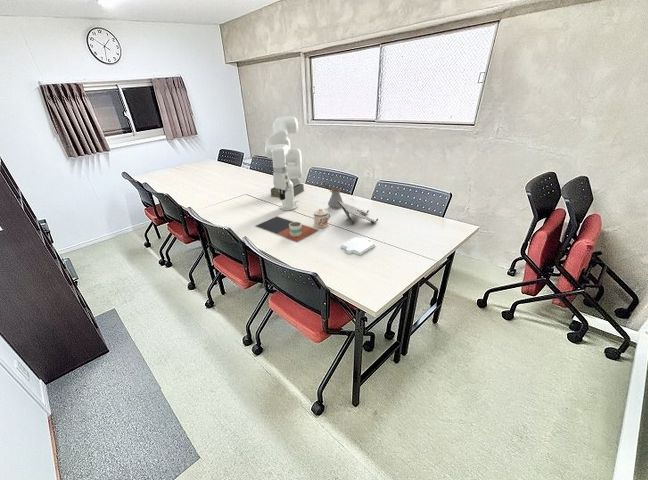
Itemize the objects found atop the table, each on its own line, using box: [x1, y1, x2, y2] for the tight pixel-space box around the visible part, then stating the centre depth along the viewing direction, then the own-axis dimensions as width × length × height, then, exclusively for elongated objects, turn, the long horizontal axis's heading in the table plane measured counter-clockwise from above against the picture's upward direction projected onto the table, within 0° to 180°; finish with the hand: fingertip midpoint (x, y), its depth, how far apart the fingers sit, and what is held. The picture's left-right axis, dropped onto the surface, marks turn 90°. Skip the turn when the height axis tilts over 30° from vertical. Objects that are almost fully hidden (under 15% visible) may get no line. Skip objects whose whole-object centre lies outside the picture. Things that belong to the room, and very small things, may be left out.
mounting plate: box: [340, 236, 376, 256], centre depth 158 cm, size 18×13×2 cm
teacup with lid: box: [313, 207, 331, 229], centre depth 184 cm, size 12×9×12 cm
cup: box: [289, 221, 303, 237], centre depth 176 cm, size 8×8×6 cm
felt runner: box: [255, 216, 319, 243], centre depth 187 cm, size 20×39×1 cm, turn 46°
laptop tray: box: [337, 201, 379, 224], centre depth 188 cm, size 23×23×9 cm
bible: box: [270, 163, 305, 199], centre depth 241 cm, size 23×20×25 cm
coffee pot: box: [323, 182, 344, 210], centre depth 212 cm, size 21×12×15 cm, turn 29°
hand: (282, 199), depth 178 cm, fingers closed
